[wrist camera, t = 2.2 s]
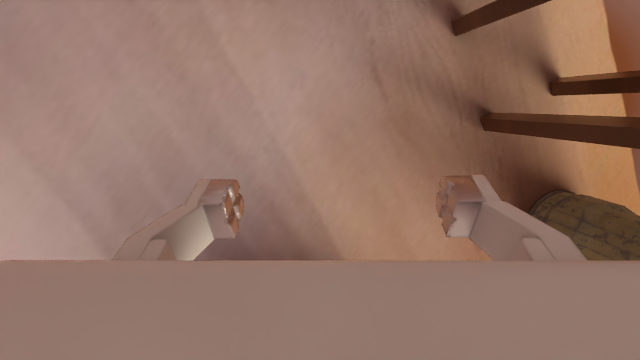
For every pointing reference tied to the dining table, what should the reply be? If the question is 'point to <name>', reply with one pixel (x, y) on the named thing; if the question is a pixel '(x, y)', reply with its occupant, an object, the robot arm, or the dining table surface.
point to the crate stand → (560, 126)
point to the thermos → (592, 225)
